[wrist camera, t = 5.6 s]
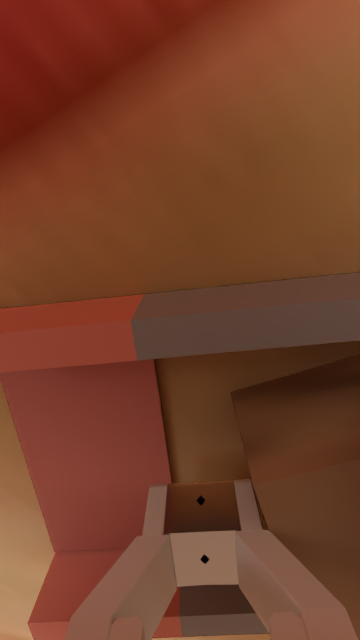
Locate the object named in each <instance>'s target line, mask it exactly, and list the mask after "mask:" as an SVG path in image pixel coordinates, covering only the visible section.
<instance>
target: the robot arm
mask: <svg viewBox="0 0 360 640" xmlns="http://www.w3.org/2000/svg"><path fill="white" fill-rule="evenodd" d="M231 584H239V587H240V589H241V591H242V592H243V594H244V595H245V597H246V598H247V600H248V601H249V603H250V605H251V606H252V608H253V609H254V611H255V612H256V614H257V615H258V617H259V618H260V620H261V622H262V623H263V625H264V626H265V628H266V629H267V631H268V632H269V634H270V640H358V638H357V636H356V633H355V631H354V628H353V626H352V623H351V621H350V618H349V616H348V613H347V611H346V608H345V607H344V606H343V605H342V604H341V603H340V602H339V601H338V600H337V599H336V598H335V597H334V596H333V595H332V594H331V593H330V592H329V591H328V590H327V589H326V588H325V587H324V586H323V585H322V584H321V583H320V582H319V581H318V580H317V579H316V578H315V577H314V576H313V574H312V573H311V572H310V571H309V570H308V569H307V568H306V567H305V566H304V565H303V564H302V563H301V562H300V561H299V560H298V559H297V558H296V557H295V556H294V555H293V554H292V553H291V552H290V551H289V550H288V549H287V548H286V547H285V546H284V545H283V544H282V543H281V542H280V541H279V540H278V539H277V538H276V537H275V536H274V535H273V534H272V533H271V532H270V531H269V530H263V527H262V522H261V518H260V514H259V510H258V505H257V501H256V497H255V493H254V488H253V484H252V481H251V480H250V479H240V480H226V481H211V482H198V483H168V484H151V486H150V488H149V494H148V500H147V507H146V514H145V521H144V527H143V534H142V536H137V537H136V538H135V539H134V540H133V542H132V543H131V544H130V545H129V546H128V548H127V549H126V550H125V551H124V553H123V554H122V555H121V556H120V557H119V559H118V560H117V561H116V562H115V564H114V565H113V566H112V567H111V569H110V570H109V571H108V572H107V573H106V575H105V576H104V577H103V578H102V580H101V581H100V582H99V583H98V584H97V586H96V587H95V588H94V589H93V591H92V592H91V593H90V594H89V595H88V597H87V598H86V599H85V600H84V602H83V603H82V604H81V605H80V606H79V608H78V609H77V610H76V611H75V613H74V614H73V615H72V616H71V619H70V622H69V626H68V629H67V632H66V636H65V639H64V640H151V639H152V637H153V635H154V633H155V631H156V629H157V627H158V625H159V623H160V621H161V619H162V617H163V615H164V613H165V611H166V609H167V608H168V606H169V604H170V602H171V600H172V598H173V596H174V594H175V592H176V590H177V587H181V586H195V585H231Z"/></svg>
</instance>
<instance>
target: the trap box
mask: <svg viewBox="0 0 360 640" xmlns="http://www.w3.org/2000/svg"><path fill="white" fill-rule="evenodd" d="M349 341H360V272H357V273H347V274H337V275H327V276H317V277H307V278H298V279H288V280H278V281H268V282H258V283H248V284H238V285H229V286H219V287H209V288H199V289H189V290H179V291H169V292H160V293H150V294H140V295H130V296H120V297H110V298H101V299H91V300H81V301H71V302H61V303H51V304H41V305H32V306H22V307H12V308H2V309H0V379H1V382H2V385H3V389H4V392H5V395H6V398H7V402H8V405H9V408H10V411H11V414H12V418H13V421H14V424H15V427H16V430H17V434H18V437H19V440H20V443H21V447H22V450H23V453H24V456H25V459H26V463H27V466H28V469H29V472H30V475H31V479H32V482H33V485H34V488H35V491H36V495H37V498H38V501H39V504H40V508H41V511H42V514H43V517H44V520H45V524H46V527H47V530H48V533H49V536H50V540H51V543H52V546H53V549H54V552H55V555H54V557H53V560H52V562H51V565H50V568H49V570H48V573H47V575H46V578H45V580H44V583H43V585H42V588H41V590H40V593H39V596H38V598H37V601H36V603H35V606H34V608H33V611H32V613H31V616H30V619H29V621H28V625H29V628H30V631H31V633H32V636H33V639H34V640H64V639H65V636H66V632H67V629H68V626H69V622H70V619H71V616H72V615H73V614H74V613H75V611H76V610H77V609H78V608H79V606H80V605H81V604H82V603H83V602H84V600H85V599H86V598H87V597H88V595H89V594H90V593H91V592H92V591H93V589H94V588H95V587H96V586H97V584H98V583H99V582H100V581H101V580H102V578H103V577H104V576H105V575H106V573H107V572H108V571H109V570H110V569H111V567H112V566H113V565H114V564H115V562H116V561H117V560H118V559H119V557H120V556H121V555H122V554H123V553H124V551H125V550H126V549H127V548H128V546H129V545H130V544H131V543H132V542H133V540H134V539H135V538H136V537H137V536H142V534H143V527H144V521H145V514H146V507H147V500H148V494H149V488H150V486H151V484H168V483H172V477H171V470H170V463H169V456H168V449H167V443H166V436H165V429H164V422H163V415H162V408H161V402H160V395H159V388H158V381H157V374H156V367H155V361H154V359H159V358H171V357H182V356H193V355H204V354H215V353H226V352H237V351H248V350H260V349H271V348H282V347H293V346H304V345H315V344H326V343H338V342H349ZM268 633H269V632H268V631H267V629H266V628H265V626H264V625H263V623H262V622H261V620H260V618H259V617H258V615H257V614H256V612H255V611H254V609H253V608H252V606H251V605H250V603H249V601H248V600H247V598H246V597H245V595H244V594H243V592H242V591H241V589H240V587H239V584H231V585H195V586H181V587H177V590H176V592H175V594H174V596H173V598H172V600H171V602H170V604H169V606H168V608H167V609H166V611H165V613H164V615H163V617H162V619H161V621H160V623H159V625H158V627H157V629H156V631H155V633H154V635H153V637H152V638H168V637H193V636H218V635H243V634H268Z"/></svg>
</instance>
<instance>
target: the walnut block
mask: <svg viewBox="0 0 360 640" xmlns="http://www.w3.org/2000/svg"><path fill="white" fill-rule="evenodd" d="M231 395H232V400H233V404H234V408H235V412H236V416H237V421H238V425H239V429H240V433H241V437H242V442H243V446H244V450H245V454H246V459H247V463H248V467H249V471H250V475H251V480H252V484H253V487H254V490H255V493H256V496H257V498H258V501H259V504H260V507H261V510H262V512H263V515H264V518H265V521H266V523H267V526H268V529H269V531H270V532H271V533H272V534H273V535H274V536H275V537H276V538H277V539H278V540H279V541H280V542H281V543H282V544H283V545H284V546H285V547H286V548H287V549H288V550H289V551H290V552H291V553H292V554H293V555H294V556H295V557H296V558H297V559H298V560H299V561H300V562H301V563H302V564H303V565H304V566H305V567H306V568H307V569H308V570H309V571H310V572H311V573H312V574H313V576H314V577H315V578H316V579H317V580H318V581H319V582H320V583H321V584H322V585H323V586H324V587H325V588H326V589H327V590H328V591H329V592H330V593H331V594H332V595H333V596H334V597H335V598H336V599H337V600H338V601H339V602H340V603H341V604H342V605H343V606H344V607H345V608H346V611H347V613H348V616H349V618H350V621H351V623H352V626H353V628H354V631H355V633H356V636H357V638H358V640H360V354H359V355H356V356H353V357H349V358H346V359H342V360H339V361H336V362H332V363H329V364H325V365H322V366H319V367H315V368H312V369H308V370H305V371H302V372H298V373H295V374H291V375H288V376H285V377H281V378H278V379H274V380H271V381H268V382H264V383H261V384H257V385H254V386H251V387H247V388H244V389H240V390H237V391H234V392H231Z"/></svg>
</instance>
